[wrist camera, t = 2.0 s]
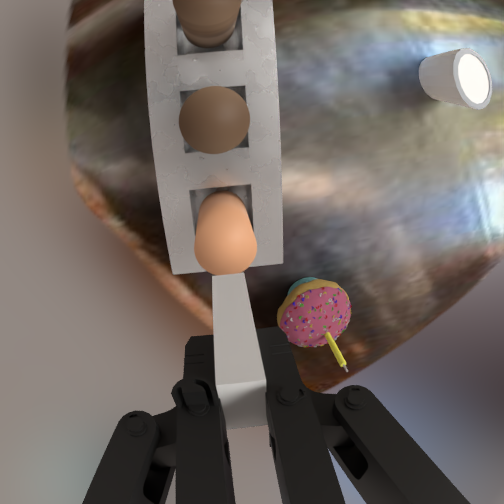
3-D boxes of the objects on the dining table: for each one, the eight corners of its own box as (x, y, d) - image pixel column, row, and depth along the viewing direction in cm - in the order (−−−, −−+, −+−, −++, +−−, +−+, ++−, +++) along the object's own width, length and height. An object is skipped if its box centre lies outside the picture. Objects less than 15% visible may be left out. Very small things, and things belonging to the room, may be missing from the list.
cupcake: (348, 290, 37) (390, 353, 27) (299, 330, 39) (325, 400, 29) (310, 249, 34) (350, 312, 23) (256, 296, 36) (273, 371, 25)
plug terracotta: (196, 193, 24) (190, 222, 18) (244, 188, 25) (255, 216, 18) (201, 237, 26) (198, 279, 20) (247, 232, 26) (258, 273, 20)
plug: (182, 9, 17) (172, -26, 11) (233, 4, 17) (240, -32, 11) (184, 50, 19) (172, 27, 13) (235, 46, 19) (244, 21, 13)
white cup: (409, 91, 27) (449, 92, 20) (418, 42, 24) (457, 35, 18) (449, 113, 28) (488, 120, 22) (457, 67, 25) (495, 67, 19)
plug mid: (187, 97, 21) (176, 90, 14) (238, 92, 21) (248, 83, 15) (191, 145, 22) (182, 157, 16) (241, 140, 23) (252, 151, 17)
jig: (156, 6, 20) (144, -16, 15) (259, -3, 21) (269, -27, 16) (179, 246, 32) (173, 274, 27) (271, 237, 33) (283, 263, 27)
